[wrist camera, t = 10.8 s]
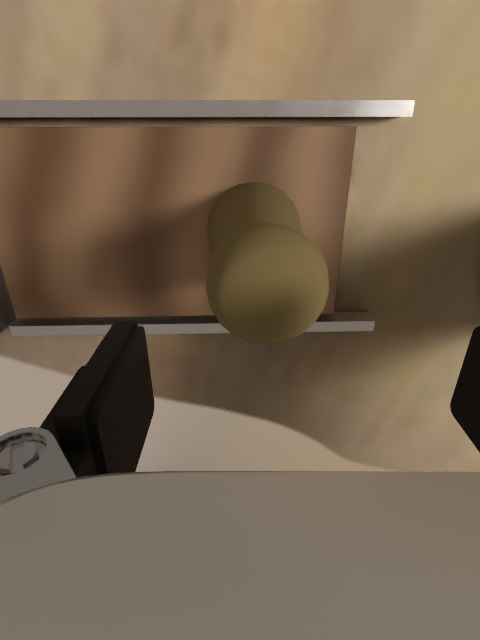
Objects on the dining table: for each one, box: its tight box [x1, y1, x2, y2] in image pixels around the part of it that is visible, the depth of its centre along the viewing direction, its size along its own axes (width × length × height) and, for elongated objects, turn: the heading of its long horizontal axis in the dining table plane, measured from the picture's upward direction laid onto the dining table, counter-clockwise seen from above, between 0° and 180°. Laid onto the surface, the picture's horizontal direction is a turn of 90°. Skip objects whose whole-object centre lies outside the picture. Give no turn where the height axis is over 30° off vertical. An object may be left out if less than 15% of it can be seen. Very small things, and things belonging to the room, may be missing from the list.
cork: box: [206, 182, 329, 345], centre depth 20 cm, size 6×6×11 cm
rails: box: [0, 100, 415, 336], centre depth 25 cm, size 26×15×2 cm, turn 90°
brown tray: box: [0, 126, 356, 333], centre depth 23 cm, size 24×12×6 cm, turn 90°
